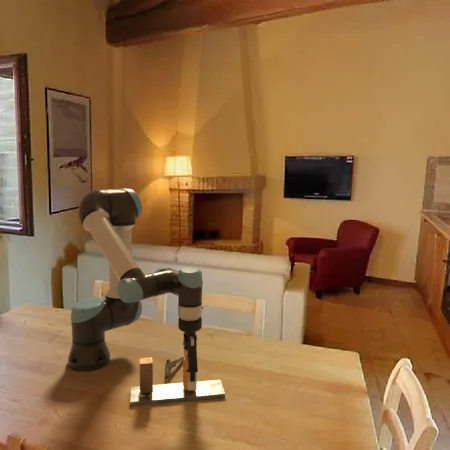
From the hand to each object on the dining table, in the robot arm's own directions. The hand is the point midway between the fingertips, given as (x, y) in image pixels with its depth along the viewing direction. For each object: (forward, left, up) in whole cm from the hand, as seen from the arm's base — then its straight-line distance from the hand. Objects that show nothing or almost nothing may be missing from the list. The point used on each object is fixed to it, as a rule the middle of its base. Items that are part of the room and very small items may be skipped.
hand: (189, 378), depth 139 cm
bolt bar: (0, -4, -5) cm, 7 cm away
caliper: (-20, -2, -6) cm, 21 cm away
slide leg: (0, 0, -3) cm, 3 cm away
